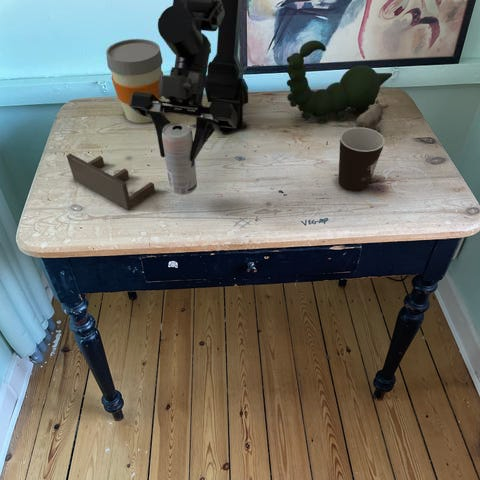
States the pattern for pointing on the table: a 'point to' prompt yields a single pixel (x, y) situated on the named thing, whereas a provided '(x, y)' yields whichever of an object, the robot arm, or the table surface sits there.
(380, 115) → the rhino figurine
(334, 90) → the toy figurine
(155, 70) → the reusable coffee cup
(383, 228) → the table surface
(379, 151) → the coffee mug
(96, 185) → the brown legged board
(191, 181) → the energy drink
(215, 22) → the robot arm
